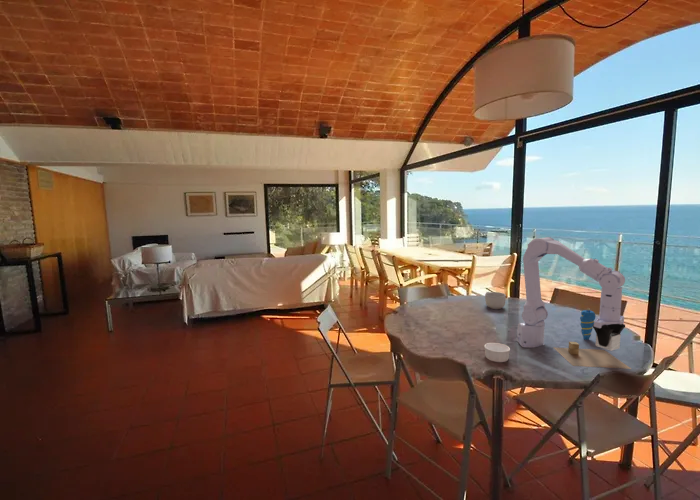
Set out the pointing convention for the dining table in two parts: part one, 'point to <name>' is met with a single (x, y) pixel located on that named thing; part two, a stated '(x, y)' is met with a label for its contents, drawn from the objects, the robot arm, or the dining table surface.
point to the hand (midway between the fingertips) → (607, 344)
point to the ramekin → (496, 352)
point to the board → (589, 357)
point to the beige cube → (611, 342)
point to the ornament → (587, 323)
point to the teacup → (495, 300)
